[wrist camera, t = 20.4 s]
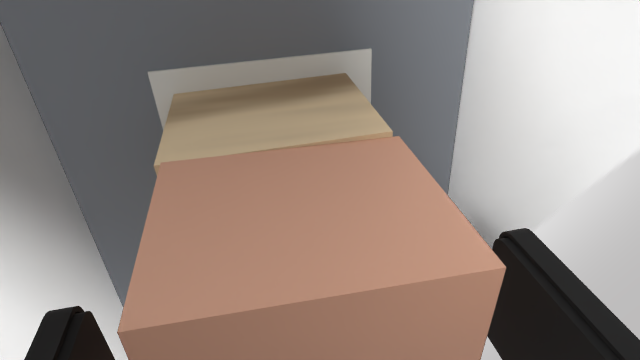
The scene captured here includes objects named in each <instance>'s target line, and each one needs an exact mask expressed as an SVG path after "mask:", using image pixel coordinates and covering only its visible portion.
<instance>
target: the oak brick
mask: <svg viewBox="0 0 640 360" xmlns="http://www.w3.org/2000/svg"><path fill="white" fill-rule="evenodd" d="M386 137H393V131H392V130H391V128H390V127H389V126H388V125H387V123H386V122H385V121H384V120H383V118H382V117H381V116H380V115H379V113H378V112H377V111H376V110H375V109H374V107H373V106H372V105H371V104H370V102H369V101H368V100H367V99H366V97H365V96H364V95H363V94H362V92H361V91H360V90H359V89H358V87H357V86H356V85H355V84H354V82H353V81H352V80H351V79H350V78H349V76H348V75H347V74H346V73H341V74H333V75H324V76H316V77H308V78H300V79H292V80H284V81H276V82H268V83H259V84H251V85H243V86H235V87H227V88H219V89H211V90H203V91H194V92H186V93H178V94H174V95H173V99H172V102H171V106H170V109H169V113H168V116H167V120H166V123H165V127H164V130H163V134H162V138H161V141H160V145H159V148H158V152H157V155H156V159H155V162H154V169H155V172H156V175H158V171H159V167H160V163H161V162H170V161H179V160H188V159H197V158H206V157H215V156H224V155H233V154H242V153H251V152H260V151H269V150H278V149H287V148H296V147H305V146H314V145H323V144H332V143H341V142H350V141H359V140H368V139H377V138H386Z"/></svg>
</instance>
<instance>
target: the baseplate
mask: <svg viewBox="0 0 640 360" xmlns="http://www.w3.org/2000/svg"><path fill="white" fill-rule="evenodd" d="M473 1H474V0H0V23H1V26H2V28H3V30H4V32H5V35H6V37H7V39H8V42H9V44H10V46H11V49H12V51H13V53H14V56H15V58H16V60H17V63H18V65H19V67H20V69H21V72H22V74H23V76H24V79H25V81H26V83H27V86H28V88H29V90H30V93H31V95H32V97H33V100H34V102H35V104H36V107H37V109H38V111H39V113H40V116H41V118H42V120H43V123H44V125H45V127H46V130H47V132H48V134H49V137H50V139H51V141H52V144H53V146H54V148H55V151H56V153H57V155H58V157H59V160H60V162H61V164H62V167H63V169H64V171H65V174H66V176H67V178H68V181H69V183H70V185H71V188H72V190H73V192H74V195H75V197H76V199H77V201H78V204H79V206H80V208H81V211H82V213H83V215H84V218H85V220H86V222H87V225H88V227H89V229H90V232H91V234H92V236H93V238H94V241H95V243H96V245H97V248H98V250H99V252H100V255H101V257H102V259H103V262H104V264H105V266H106V269H107V271H108V273H109V276H110V278H111V280H112V282H113V285H114V287H115V289H116V292H117V294H118V296H119V299H120V301H121V303H122V306H123V308H124V304H125V300H126V296H127V292H128V288H129V285H130V281H131V277H132V273H133V269H134V265H135V261H136V257H137V253H138V249H139V245H140V242H141V238H142V234H143V230H144V226H145V222H146V218H147V214H148V210H149V206H150V203H151V199H152V195H153V191H154V187H155V183H156V179H157V175H156V172H155V169H154V162H155V159H156V155H157V152H158V148H159V145H160V141H161V138H162V134H163V130H164V127H165V123H166V120H167V116H168V113H169V109H170V106H171V102H172V99H173V95H174V94H178V93H186V92H194V91H203V90H211V89H219V88H227V87H235V86H243V85H251V84H259V83H268V82H276V81H284V80H292V79H300V78H308V77H316V76H324V75H333V74H341V73H346V74H347V75H348V76H349V78H350V79H351V80H352V81H353V82H354V84H355V85H356V86H357V87H358V89H359V90H360V91H361V92H362V94H363V95H364V96H365V97H366V99H367V100H368V101H369V102H370V104H371V105H372V106H373V107H374V109H375V110H376V111H377V112H378V113H379V115H380V116H381V117H382V118H383V120H384V121H385V122H386V123H387V125H388V126H389V127H390V128H391V130H392V131H393V137H395V136H399V137H400V138H401V139H402V140H403V141H404V143H405V144H406V145H407V146H408V148H409V149H410V150H411V151H412V152H413V154H414V155H415V156H416V157H417V159H418V160H419V161H420V162H421V164H422V165H423V166H424V167H425V168H426V170H427V171H428V172H429V173H430V175H431V176H432V177H433V178H434V179H435V181H436V182H437V183H438V184H439V186H440V187H441V188H442V189H443V190H444V192H445V193H446V194H447V195H448V187H449V180H450V172H451V165H452V157H453V150H454V142H455V135H456V127H457V120H458V112H459V105H460V98H461V90H462V83H463V75H464V68H465V60H466V53H467V45H468V38H469V30H470V23H471V15H472V8H473Z"/></svg>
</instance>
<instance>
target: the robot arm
mask: <svg viewBox="0 0 640 360" xmlns="http://www.w3.org/2000/svg"><path fill="white" fill-rule="evenodd" d="M492 250H493V252H494V253H495V254H496V255H497V256H498V258H499V259H500V260H501V261H502V263H503V264H504V265H505V266H506V270H505V274H504V277H503V281H502V285H501V288H500V292H499V295H498V299H497V302H496V306H495V310H494V313H493V317H492V320H491V324H490V327H489V331H488V334H487V336H488V338H489V339H490V341H491V342H492V344H493V346H494V347H495V349H496V350H497V352H498V353H499V355H500V357H501V358H502V360H640V340H639V339H638V338H637V337H636V336H635V335H634V334H633V333H632V332H631V331H630V330H629V329H628V328H627V327H626V326H625V325H624V324H623V323H622V322H621V321H620V320H619V319H618V318H617V317H616V316H615V315H614V314H613V313H612V312H611V311H610V310H609V309H608V308H607V307H606V306H605V305H604V304H603V303H602V302H601V301H600V300H599V299H598V298H597V297H596V296H595V295H594V294H593V293H592V292H591V291H590V290H589V289H588V288H587V287H586V286H585V285H584V284H583V283H582V282H581V281H580V280H579V279H578V278H577V277H576V275H574V273H572V271H571V270H569V269H568V267H567V266H565V264H564V263H563V262H562V261H561V260H559V258H558V257H557V256H556V255H555V254H554V253H553V252H552V251H550V249H549V248H548V247H546V245H545V244H544V243H543V242H542V241H541V240H540V239H539V238H538V237H537V236H536V235H535V234H534V233H533V232H532V231H530V230H529V229H526V228H523V229H517V230H512V231H506V232H502V233H501V234H500V236H499V239H496V240H495V242H494V245H493V249H492ZM24 360H115V359H114V357H113V354H112V352H111V350H110V348H109V346H108V344H107V342H106V340H105V338H104V336H103V334H102V332H101V330H100V328H99V326H98V324H97V322H96V320H95V318H94V316H93V314H92V313H91V312H90V311H86V312H84V311H83V309H82V308H81V307H80V306H75V307H69V308H64V309H58V310H52V311H48V312H47V313H46V314H45V316H44V317H43V320H42V322H41V324H40V326H39V328H38V331H37V333H36V335H35V337H34V339H33V342H32V344H31V346H30V348H29V351H28V353H27V355H26V357H25V359H24Z"/></svg>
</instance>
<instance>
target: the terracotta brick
mask: <svg viewBox="0 0 640 360" xmlns="http://www.w3.org/2000/svg"><path fill="white" fill-rule="evenodd" d="M505 270H506V266H505V265H504V264H503V263H502V261H501V260H500V259H499V258H498V256H497V255H496V254H495V253H494V252H493V250H492V249H491V248H490V247H489V245H488V244H487V243H486V242H485V241H484V239H483V238H482V237H481V236H480V234H479V233H478V232H477V231H476V230H475V228H474V227H473V226H472V225H471V223H470V222H469V221H468V220H467V219H466V217H465V216H464V215H463V214H462V212H461V211H460V210H459V209H458V208H457V206H456V205H455V204H454V203H453V201H452V200H451V199H450V198H449V197H448V195H447V194H446V193H445V192H444V190H443V189H442V188H441V187H440V186H439V184H438V183H437V182H436V181H435V179H434V178H433V177H432V176H431V175H430V173H429V172H428V171H427V170H426V168H425V167H424V166H423V165H422V164H421V162H420V161H419V160H418V159H417V157H416V156H415V155H414V154H413V152H412V151H411V150H410V149H409V148H408V146H407V145H406V144H405V143H404V141H403V140H402V139H401V138H400V137H399V136H395V137H386V138H377V139H368V140H359V141H350V142H341V143H332V144H323V145H314V146H305V147H296V148H287V149H278V150H269V151H260V152H251V153H242V154H233V155H224V156H215V157H206V158H197V159H188V160H179V161H170V162H161V163H160V167H159V171H158V175H157V179H156V183H155V187H154V191H153V195H152V199H151V203H150V206H149V210H148V214H147V218H146V222H145V226H144V230H143V234H142V238H141V242H140V245H139V249H138V253H137V257H136V261H135V265H134V269H133V273H132V277H131V281H130V285H129V288H128V292H127V296H126V300H125V304H124V308H123V312H122V316H121V320H120V324H119V327H118V331H117V333H118V335H119V338H120V340H121V343H122V345H123V347H124V350H125V352H126V354H127V357H128V359H129V360H480V359H481V356H482V352H483V348H484V345H485V341H486V338H487V334H488V331H489V327H490V324H491V320H492V317H493V313H494V310H495V306H496V302H497V299H498V295H499V292H500V288H501V285H502V281H503V277H504V274H505Z"/></svg>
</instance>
